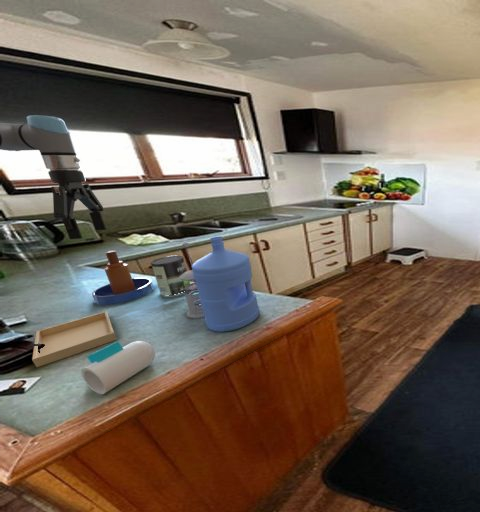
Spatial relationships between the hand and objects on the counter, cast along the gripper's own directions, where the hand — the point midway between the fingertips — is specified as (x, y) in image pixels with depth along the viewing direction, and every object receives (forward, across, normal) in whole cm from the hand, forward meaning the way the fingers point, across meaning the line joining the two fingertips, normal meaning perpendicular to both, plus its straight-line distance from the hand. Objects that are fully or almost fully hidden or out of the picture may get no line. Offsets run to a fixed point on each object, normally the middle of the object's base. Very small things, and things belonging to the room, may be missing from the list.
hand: (89, 234), depth 94 cm
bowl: (+27, +6, -1) cm, 27 cm away
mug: (+27, -48, -22) cm, 59 cm away
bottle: (+26, +6, -1) cm, 27 cm away
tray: (+27, -25, -2) cm, 37 cm away
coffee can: (+27, +2, -19) cm, 33 cm away
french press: (+27, -19, -34) cm, 47 cm away
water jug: (+27, -30, -44) cm, 60 cm away
